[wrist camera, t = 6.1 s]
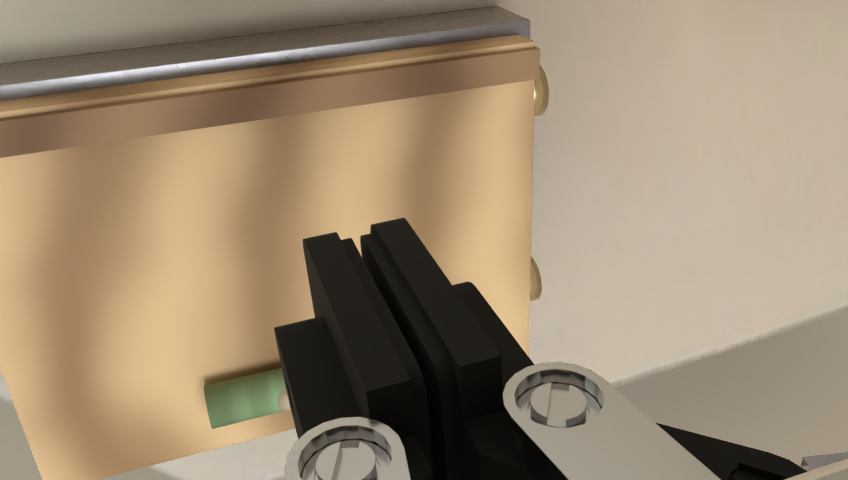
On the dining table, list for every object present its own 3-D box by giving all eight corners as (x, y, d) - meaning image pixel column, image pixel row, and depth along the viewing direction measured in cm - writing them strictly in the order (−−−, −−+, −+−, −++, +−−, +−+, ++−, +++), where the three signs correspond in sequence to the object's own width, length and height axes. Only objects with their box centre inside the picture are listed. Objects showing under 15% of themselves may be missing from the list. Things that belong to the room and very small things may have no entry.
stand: (522, 3, 34) (556, 17, 31) (516, 316, 42) (543, 349, 39) (-81, 73, 28) (-105, 98, 25) (49, 427, 36) (42, 475, 33)
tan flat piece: (519, 34, 31) (560, 52, 28) (515, 351, 38) (547, 393, 35) (-83, 111, 25) (-113, 145, 22) (50, 467, 33) (42, 529, 30)
